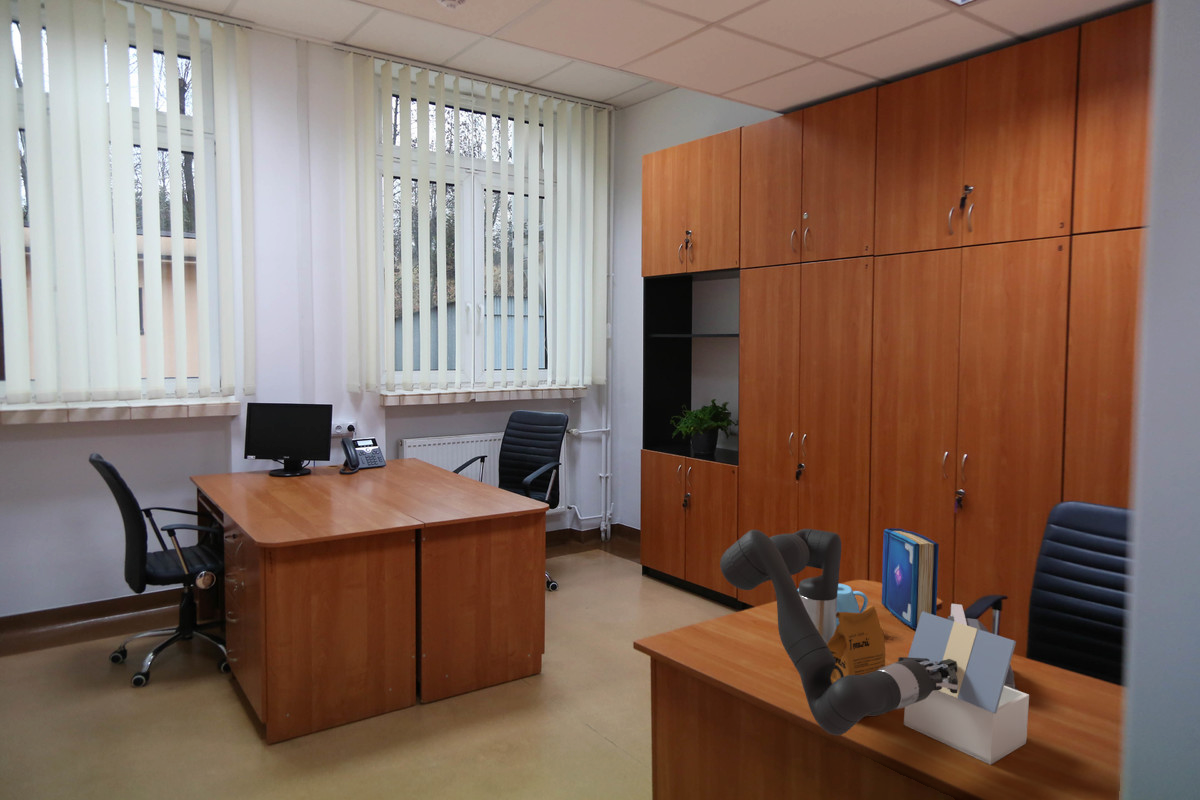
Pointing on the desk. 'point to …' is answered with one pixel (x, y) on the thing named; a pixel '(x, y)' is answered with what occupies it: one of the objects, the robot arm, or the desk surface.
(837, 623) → the decorative pot
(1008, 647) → the lid
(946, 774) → the desk surface
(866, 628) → the coffee package
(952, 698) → the storage box
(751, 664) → the desk surface
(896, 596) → the book
